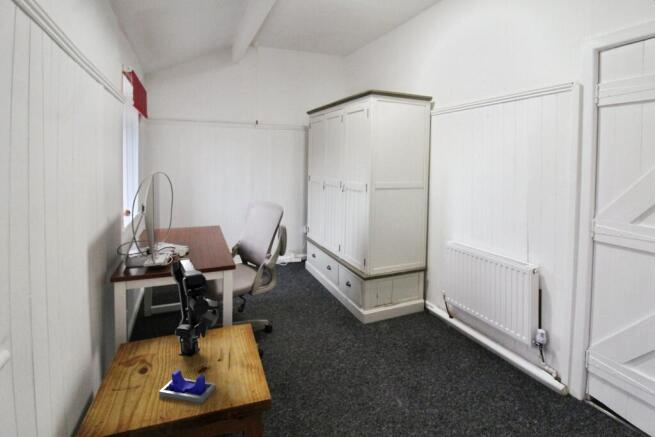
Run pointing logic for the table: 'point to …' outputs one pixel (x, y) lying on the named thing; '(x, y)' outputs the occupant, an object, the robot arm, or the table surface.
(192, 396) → the tray
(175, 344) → the table surface
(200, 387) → the blue curved cradle
